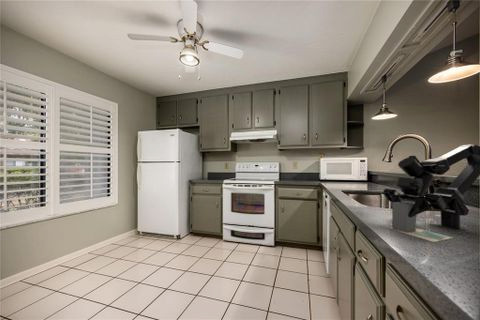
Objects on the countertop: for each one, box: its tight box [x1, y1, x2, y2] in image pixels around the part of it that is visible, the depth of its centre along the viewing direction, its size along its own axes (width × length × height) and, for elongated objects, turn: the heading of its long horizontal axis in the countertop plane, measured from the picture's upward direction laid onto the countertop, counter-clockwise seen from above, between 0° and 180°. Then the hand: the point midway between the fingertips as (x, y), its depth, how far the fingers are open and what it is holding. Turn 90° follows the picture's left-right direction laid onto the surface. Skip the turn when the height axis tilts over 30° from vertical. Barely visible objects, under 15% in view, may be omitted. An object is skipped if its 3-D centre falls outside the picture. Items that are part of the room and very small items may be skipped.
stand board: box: [386, 226, 454, 243], centre depth 73 cm, size 11×15×5 cm
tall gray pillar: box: [391, 202, 417, 233], centre depth 76 cm, size 5×5×10 cm
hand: (401, 215), depth 76 cm, fingers closed on tall gray pillar, 5 cm apart
